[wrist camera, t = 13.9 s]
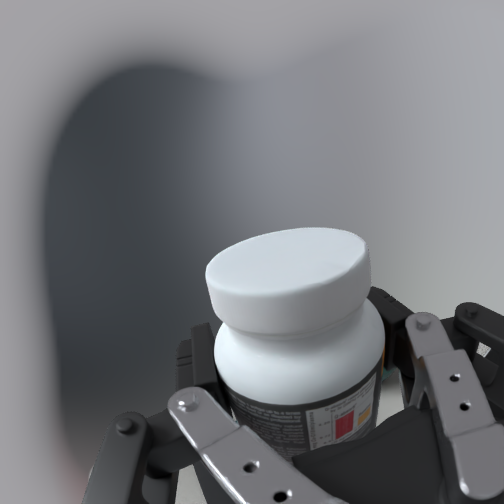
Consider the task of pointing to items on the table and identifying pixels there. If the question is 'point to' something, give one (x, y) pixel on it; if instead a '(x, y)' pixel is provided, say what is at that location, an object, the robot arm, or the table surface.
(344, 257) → the pill bottle
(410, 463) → the robot arm
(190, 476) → the table surface
